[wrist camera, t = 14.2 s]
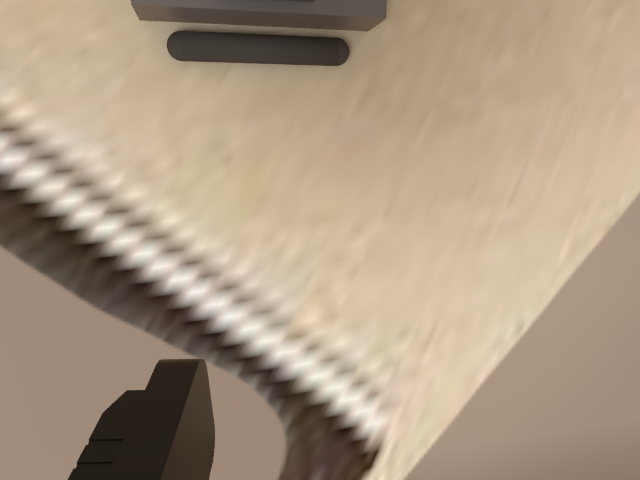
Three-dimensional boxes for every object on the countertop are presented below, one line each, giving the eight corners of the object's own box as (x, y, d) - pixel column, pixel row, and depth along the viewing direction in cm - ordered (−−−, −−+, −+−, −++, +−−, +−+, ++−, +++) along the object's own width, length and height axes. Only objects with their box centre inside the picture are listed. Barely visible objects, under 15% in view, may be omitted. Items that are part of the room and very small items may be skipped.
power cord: (345, 41, 28) (352, 36, 27) (345, 68, 28) (352, 64, 27) (167, 34, 26) (164, 27, 25) (168, 62, 26) (166, 57, 25)
